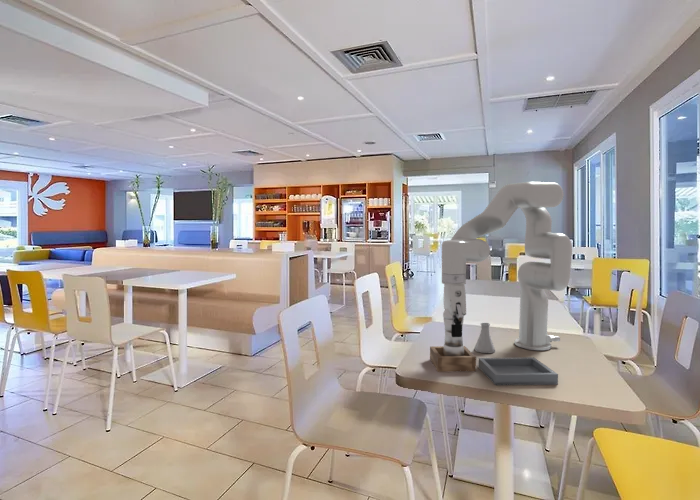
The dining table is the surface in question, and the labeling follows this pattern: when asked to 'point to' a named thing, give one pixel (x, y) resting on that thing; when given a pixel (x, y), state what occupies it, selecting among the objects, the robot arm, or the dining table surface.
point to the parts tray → (517, 371)
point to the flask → (485, 340)
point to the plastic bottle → (452, 344)
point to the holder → (452, 360)
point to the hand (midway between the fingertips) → (453, 333)
